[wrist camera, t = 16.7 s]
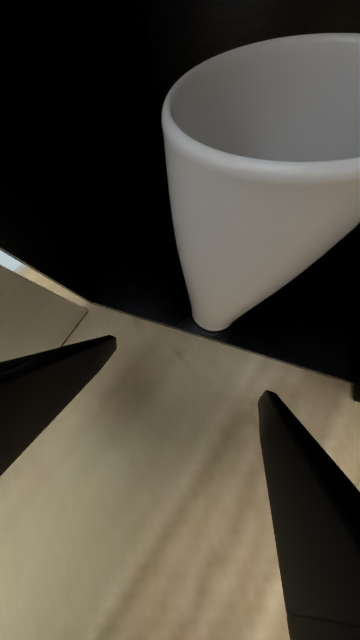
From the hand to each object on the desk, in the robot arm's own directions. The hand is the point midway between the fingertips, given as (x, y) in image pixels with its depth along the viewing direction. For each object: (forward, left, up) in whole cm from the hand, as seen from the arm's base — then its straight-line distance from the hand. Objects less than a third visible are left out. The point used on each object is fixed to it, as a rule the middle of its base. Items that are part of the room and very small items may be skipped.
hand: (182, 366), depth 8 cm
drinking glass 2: (+7, 0, -8) cm, 11 cm away
